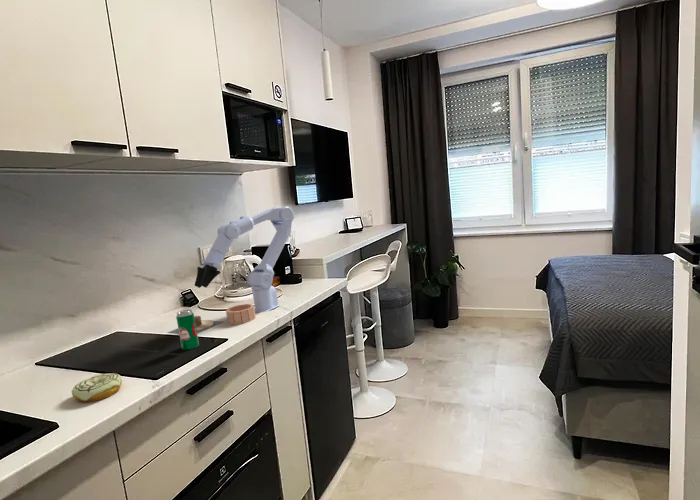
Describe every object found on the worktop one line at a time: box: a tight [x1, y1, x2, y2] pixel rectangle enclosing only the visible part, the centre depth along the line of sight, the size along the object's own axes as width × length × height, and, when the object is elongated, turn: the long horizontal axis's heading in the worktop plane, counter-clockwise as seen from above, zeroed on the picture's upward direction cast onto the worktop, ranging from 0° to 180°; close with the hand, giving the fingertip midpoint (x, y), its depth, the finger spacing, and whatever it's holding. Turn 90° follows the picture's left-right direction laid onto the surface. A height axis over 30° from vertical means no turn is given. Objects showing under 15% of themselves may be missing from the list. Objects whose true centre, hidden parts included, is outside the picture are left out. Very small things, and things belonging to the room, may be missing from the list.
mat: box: [167, 319, 225, 335], centre depth 147 cm, size 14×14×1 cm
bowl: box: [225, 303, 257, 325], centre depth 149 cm, size 10×10×5 cm
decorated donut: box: [71, 372, 123, 403], centre depth 100 cm, size 10×11×4 cm
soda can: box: [175, 309, 200, 351], centre depth 125 cm, size 5×5×12 cm
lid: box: [194, 315, 214, 331], centre depth 147 cm, size 12×12×4 cm
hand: (200, 286), depth 143 cm, fingers open, 7 cm apart
